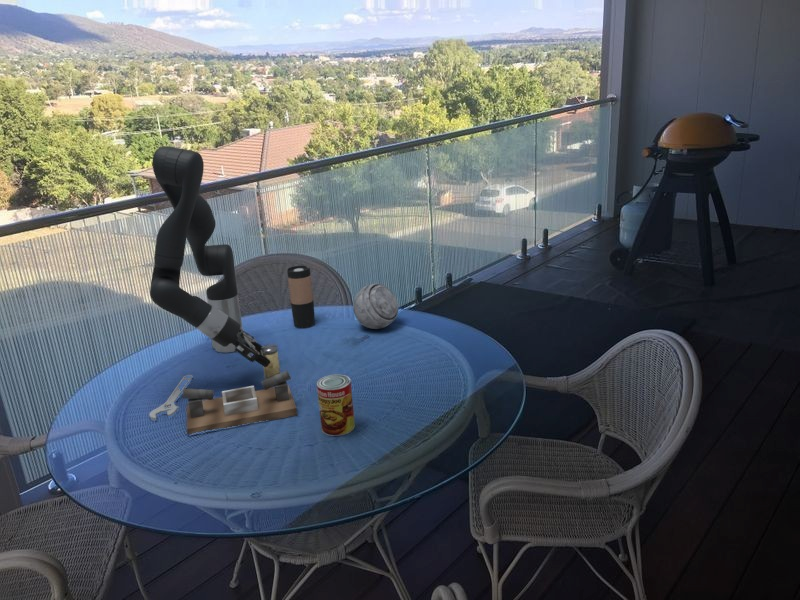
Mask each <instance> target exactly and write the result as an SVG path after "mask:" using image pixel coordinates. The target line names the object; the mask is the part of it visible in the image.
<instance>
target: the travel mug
mask: <svg viewBox="0 0 800 600" xmlns="http://www.w3.org/2000/svg"><path fill="white" fill-rule="evenodd" d="M286 270H287V271H286V273H287V280H288V281H287V282H288V290H289V298H290V307H291V315H292V321H293V326H294V327H295V328H296V329H308V328H311V327H314V326H315V324H316V317H315V305H314V304H315V303H314V294H313V286H312V285H313V284H312V275H311V268H310V267H307V266H306V265H294V266H291V267H288V268H287V269H286Z"/></svg>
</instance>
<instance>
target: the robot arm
mask: <svg viewBox="0 0 800 600" xmlns="http://www.w3.org/2000/svg"><path fill="white" fill-rule="evenodd" d="M204 165H205V164H204V160H203V157H202V155H201V154H200V153H199V152H198V151H195V150H190V149H184V148H179V147H175V146H166V145H165V146H164V145H163V146H160V147H158V148H157V149H156V150H155V151H154V154H153V156H152V170H153V174H154V177H155V178H156V179H155V180H156V181H157V182H158V184H159V186H160V188H161V189H162V190H163V192H164V194H165V196H166V197H167V199H168V200H169V202H170V204H171V206H172V208H173V211H172V212H171V213H170V214H169V215H168V216H167V218H166V219H165V221H164V222H163V223H162V224H161V226H160V228H159V229H158V231H157V235H156V241H155V249H154V257H153V258H154V259H153V261H154V265H153V271H152V275H151V280H150V281H151V282H150V288H149V290H150V291H149V296H150V297H149V298H150V299H151V301H152V302H153V303H154V304H155V305H156V306H158V307H159V308H161V309H162V310H164V311H167V312H168V313H170V314H172V315H174V316H176V317H179V318H181V319H182V320H184V321H185V322H186V323H188V324H190V325H191V326H192V327H194V328H196V329H197V330H198V331H199V332H201V333H202V334H203V335H205V336H206V337H208V338H209V339H210V340H211V343H212V344H211V345H212V346H211V347H212V349H213V350H215V351H216V352H218V353H222V354H223V353H233V352H234V353H235V352H236V353H238V354H239V355H241V356H242V357H244V358H246V359H247V360H249V361H250V362H252V363H254V362H257V363H258V364H259V365H262V367H263V366H264V367H267V366H268V365H269V364H270V360H269V359H268V358H266V357H265V356H263V355H262V354H261V347H263V346H264V345H261V344H259V343H258V342H257V340H256V339H255V337H254V336H252V335H251V334H249V333H248V332H246V331H245V330H244V329H243V322H242V321H243V320H242V313H241V307H240V302H239V301H240V300H239V293H238V288H237V279H236V270H235V269H236V268H235V259H234V258H235V257H234V252H233V249H232V247H231V246H230V245H229V244H225V243H221V244H211V245H206V244H207V242H208V241H209V240H210V238H211V237H212V235H213V234H214V232H215V230H216V225H217V224H216V219H215V216H214V213H213V211H212V208H211V205H210V204H209V202H208V201H207V200H206V199H205V197H204V196H202V195H201V194H200V193H199V192H200V188H201V185H202V181H203V177H204V176H203V175H204ZM187 242H188V244H189V247H190V249H191V253H192V255H193V259H194V262H195V265H196V268H197V271H198V272H199V274H200V275H202V276H204V277H214V276H216V277H217V276H223V278H222V279H221V280H220V281H218V282H217V283H215V284H212V285H210V286H208V287H207V288H206V293H205V294H206V299H207V301H205V300H204V299H203V298H201V297H200V296H196V295H192V294H191V293H189V292H187V291H186V290H185V289H183V288H182V287H180V281H181V269H182V267H183V265H184V264H183V263H184V258H185V251H186V244H187ZM252 354H253V355H252Z"/></svg>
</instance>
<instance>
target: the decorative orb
mask: <svg viewBox="0 0 800 600" xmlns="http://www.w3.org/2000/svg"><path fill="white" fill-rule="evenodd" d="M352 308H353V309H352V311H353V314H354V316H355V319H357V321H358V323H359V324H360V325H362V326H363V327H366V328H367V329H372V330H381V329H385V328H387V327H388V326H389V325H390V324H392V323H393V322H394V321H395V320H396V319H397V317H398V314H399V304H398V300H397V297H396V296H395V293H393V290H391V289H390V288H389V287H388V286H386V285H384V284H382V283H371V284H367V285H365V286H364V287H362V288H361V289H359V290H358V292H357V293H356V295H355V296H354V299H353V304H352Z"/></svg>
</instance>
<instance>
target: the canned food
mask: <svg viewBox="0 0 800 600" xmlns="http://www.w3.org/2000/svg"><path fill="white" fill-rule="evenodd" d="M316 390H317V391H316V392H317V400H318V410H319V417H320V426H321V432H322V433H323V434H325V435H326V436H331V437H338V436H344V435H347V434H349V433H351V432H352V431H354V429H355V423H356V422H355V414H354V402H353V392H352V380H351V378H350V377H349V376H348V375H344V374H330V375H329V374H327V375H326V376H323V377H321V378H319V379H318V380H317V382H316Z"/></svg>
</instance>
